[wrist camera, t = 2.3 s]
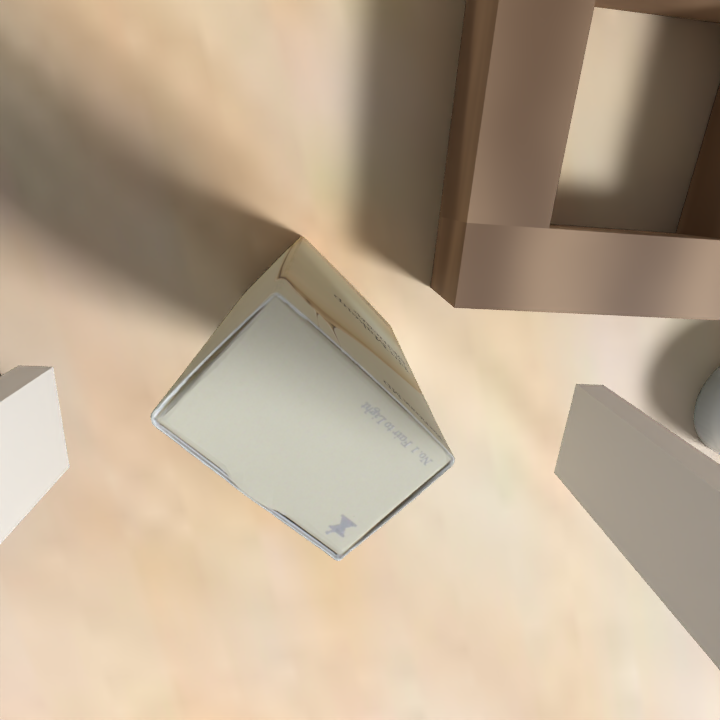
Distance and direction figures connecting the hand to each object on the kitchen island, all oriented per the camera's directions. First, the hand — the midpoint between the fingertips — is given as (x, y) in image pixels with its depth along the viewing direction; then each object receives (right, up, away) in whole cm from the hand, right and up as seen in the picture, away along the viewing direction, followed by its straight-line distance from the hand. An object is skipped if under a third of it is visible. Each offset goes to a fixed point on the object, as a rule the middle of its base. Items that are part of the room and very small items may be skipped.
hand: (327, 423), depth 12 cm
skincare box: (-1, +4, +10) cm, 11 cm away
